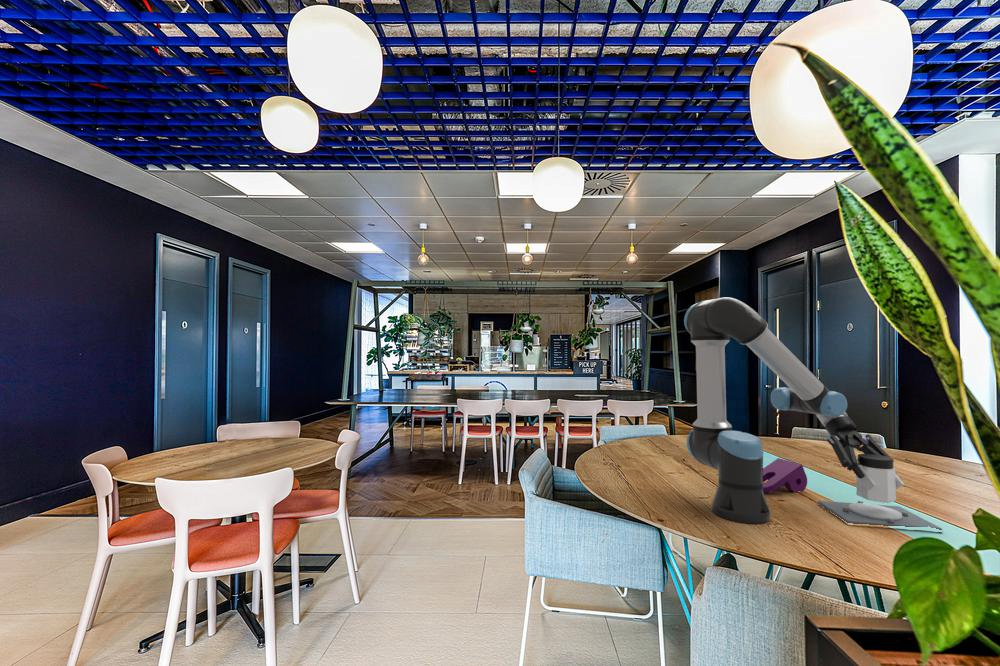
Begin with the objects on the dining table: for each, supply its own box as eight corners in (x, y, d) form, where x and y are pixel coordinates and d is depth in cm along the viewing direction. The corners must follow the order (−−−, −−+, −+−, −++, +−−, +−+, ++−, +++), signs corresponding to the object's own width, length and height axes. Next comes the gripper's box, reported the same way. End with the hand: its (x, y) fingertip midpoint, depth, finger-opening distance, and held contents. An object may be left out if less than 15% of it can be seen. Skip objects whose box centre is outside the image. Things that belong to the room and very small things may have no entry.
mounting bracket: (773, 512, 153) (810, 485, 158) (764, 490, 153) (801, 464, 157) (750, 503, 162) (786, 478, 167) (742, 482, 162) (778, 458, 167)
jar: (850, 492, 138) (849, 453, 139) (878, 493, 138) (877, 453, 138) (873, 502, 129) (872, 460, 130) (903, 503, 129) (902, 460, 129)
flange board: (848, 525, 127) (848, 517, 127) (818, 504, 144) (818, 497, 144) (942, 533, 122) (942, 524, 122) (899, 510, 140) (898, 503, 140)
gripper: (858, 428, 151) (909, 492, 134) (800, 429, 148) (845, 495, 131) (872, 414, 146) (927, 479, 129) (813, 415, 143) (862, 481, 126)
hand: (886, 487), depth 130 cm, fingers closed on jar, 8 cm apart
